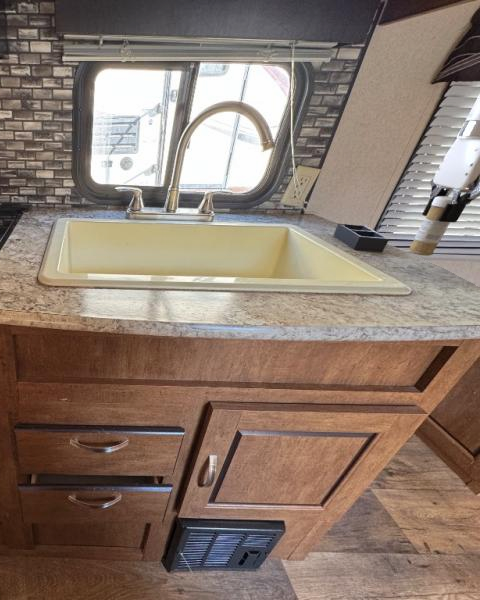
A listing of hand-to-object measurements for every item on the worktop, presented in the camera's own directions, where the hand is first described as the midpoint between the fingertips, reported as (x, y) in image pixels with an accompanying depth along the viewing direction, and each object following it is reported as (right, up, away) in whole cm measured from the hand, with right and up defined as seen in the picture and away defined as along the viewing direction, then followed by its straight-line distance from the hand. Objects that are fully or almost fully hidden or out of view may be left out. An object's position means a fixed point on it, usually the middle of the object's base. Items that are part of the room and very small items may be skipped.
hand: (438, 217), depth 74 cm
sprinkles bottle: (0, -8, +4) cm, 9 cm away
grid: (+3, -1, +25) cm, 25 cm away
